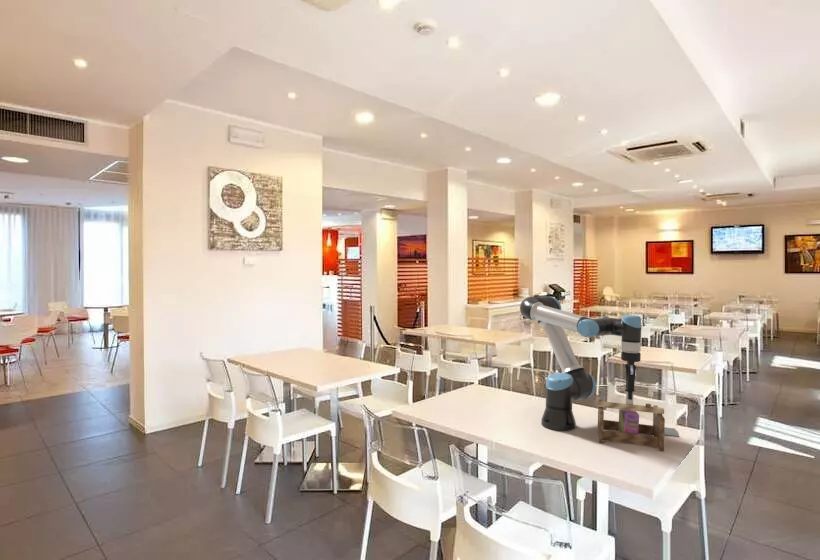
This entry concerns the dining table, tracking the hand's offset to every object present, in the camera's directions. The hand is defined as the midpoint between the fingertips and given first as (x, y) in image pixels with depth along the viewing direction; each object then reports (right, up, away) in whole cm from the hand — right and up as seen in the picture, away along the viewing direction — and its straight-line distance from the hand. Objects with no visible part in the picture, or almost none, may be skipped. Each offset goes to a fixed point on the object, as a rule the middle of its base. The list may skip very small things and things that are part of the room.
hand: (629, 406), depth 201 cm
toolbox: (0, -14, 0) cm, 14 cm away
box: (0, -14, +2) cm, 14 cm away
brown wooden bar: (-1, -1, -2) cm, 2 cm away
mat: (+20, -14, +10) cm, 27 cm away
